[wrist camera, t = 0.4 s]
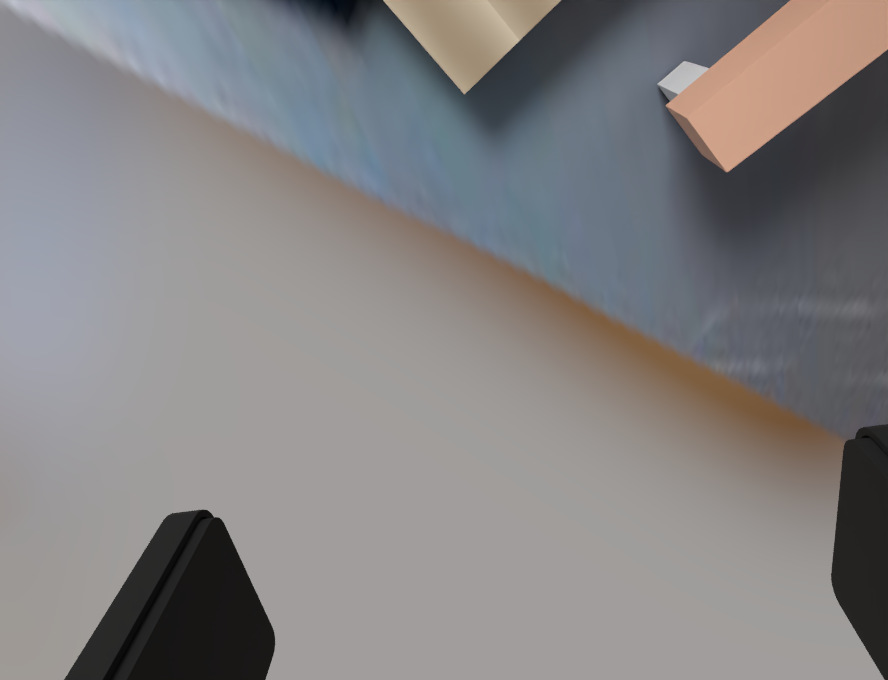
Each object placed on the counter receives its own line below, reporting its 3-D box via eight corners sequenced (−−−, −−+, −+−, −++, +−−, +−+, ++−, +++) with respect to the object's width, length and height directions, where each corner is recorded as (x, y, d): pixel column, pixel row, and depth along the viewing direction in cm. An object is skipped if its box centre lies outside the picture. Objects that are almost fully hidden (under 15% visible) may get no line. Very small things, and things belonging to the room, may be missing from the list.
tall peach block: (851, -83, 29) (960, -107, 22) (882, -27, 30) (996, -35, 23) (645, 94, 33) (686, 118, 26) (678, 138, 34) (726, 172, 27)
